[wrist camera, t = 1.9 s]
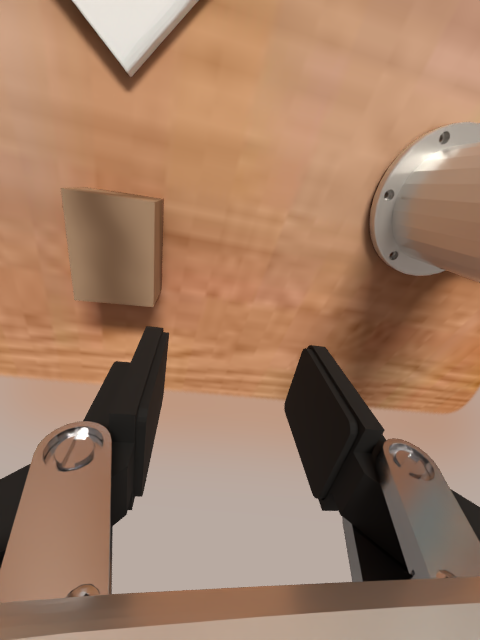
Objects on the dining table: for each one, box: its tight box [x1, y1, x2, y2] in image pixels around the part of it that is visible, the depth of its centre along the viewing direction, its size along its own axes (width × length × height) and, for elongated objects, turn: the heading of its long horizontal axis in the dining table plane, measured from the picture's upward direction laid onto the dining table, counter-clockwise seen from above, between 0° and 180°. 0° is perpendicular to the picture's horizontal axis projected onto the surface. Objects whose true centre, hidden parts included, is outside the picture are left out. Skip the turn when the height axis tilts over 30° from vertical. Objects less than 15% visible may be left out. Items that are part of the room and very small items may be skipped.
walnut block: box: [61, 187, 164, 307], centre depth 22 cm, size 6×8×4 cm
